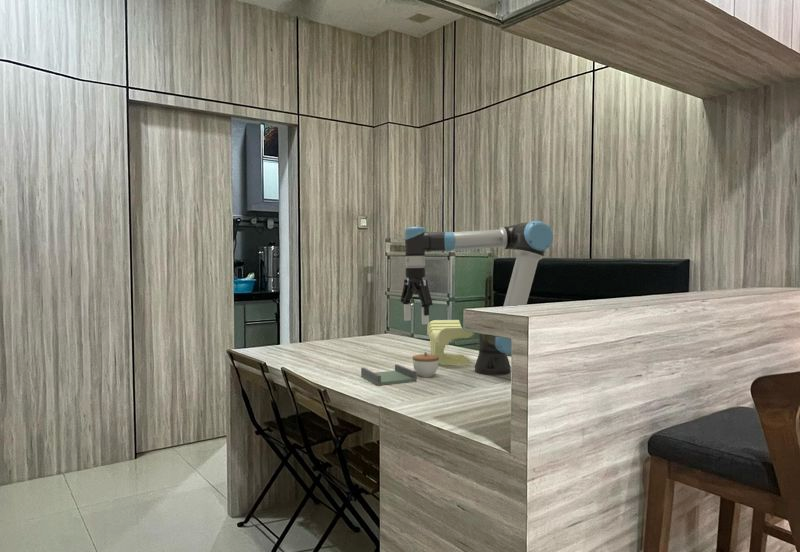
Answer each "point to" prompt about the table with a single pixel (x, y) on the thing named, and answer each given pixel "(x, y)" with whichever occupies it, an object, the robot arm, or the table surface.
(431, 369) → the lidded jar
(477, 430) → the table surface
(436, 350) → the slatted curved stool
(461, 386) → the table surface
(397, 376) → the tray
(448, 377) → the table surface
